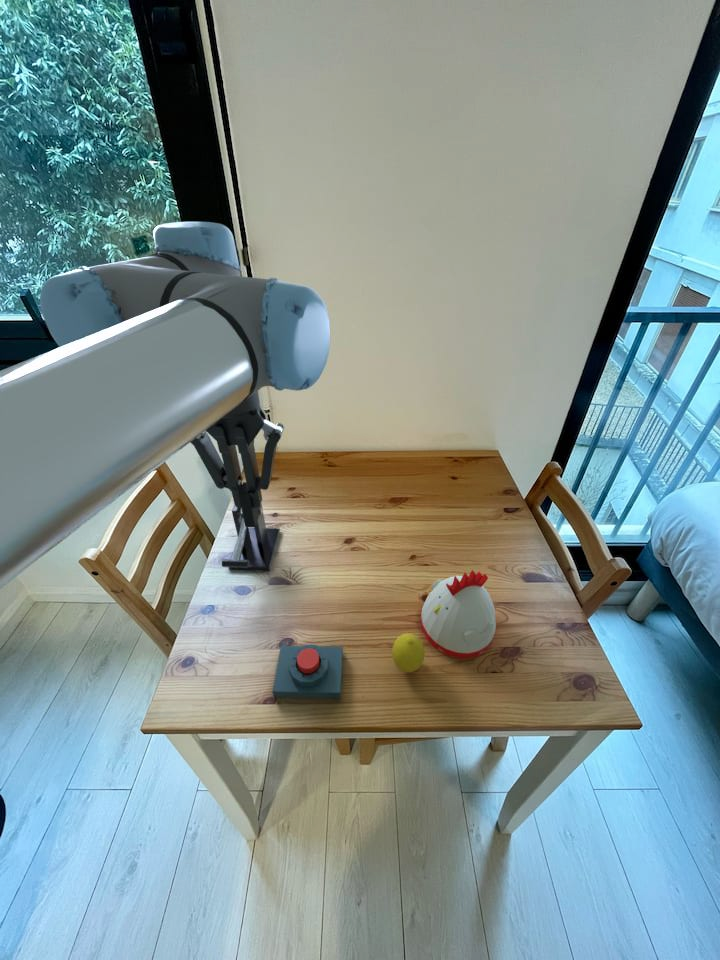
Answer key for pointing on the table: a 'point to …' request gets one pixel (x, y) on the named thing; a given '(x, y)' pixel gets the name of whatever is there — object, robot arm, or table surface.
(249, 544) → the bracket
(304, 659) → the button
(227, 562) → the lever
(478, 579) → the kitchen timer
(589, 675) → the table surface
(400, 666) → the lemon
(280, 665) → the button box
